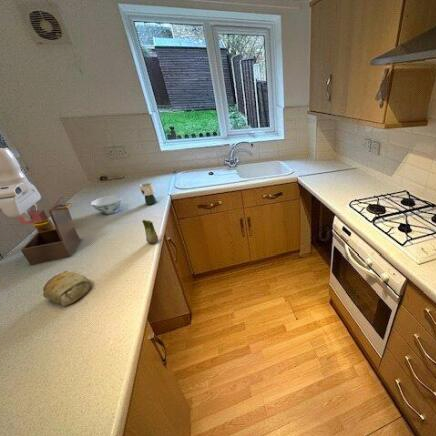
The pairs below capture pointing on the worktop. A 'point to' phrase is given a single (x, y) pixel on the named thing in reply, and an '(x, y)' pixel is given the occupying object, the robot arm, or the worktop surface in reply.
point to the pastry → (66, 288)
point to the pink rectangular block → (33, 217)
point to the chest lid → (61, 217)
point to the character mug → (148, 193)
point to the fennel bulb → (150, 232)
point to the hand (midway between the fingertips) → (32, 217)
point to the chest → (50, 246)
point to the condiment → (44, 225)
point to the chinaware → (107, 204)
